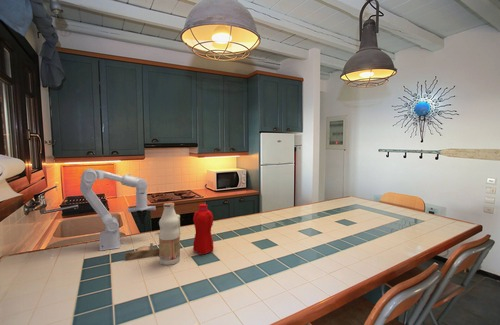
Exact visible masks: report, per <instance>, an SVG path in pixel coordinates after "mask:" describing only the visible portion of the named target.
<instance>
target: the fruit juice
mask: <svg viewBox="0 0 500 325" xmlns="http://www.w3.org/2000/svg"><path fill="white" fill-rule="evenodd" d="M176 214H177V213H176V210H175V203H174V202H164V203H163V211H162V215H161V217H160V219H159V221H158V225H159V232H158V239H159V240H158V242H159V243H158V246H159V247H158V248H159V256H158V257H159V264H161V265H164V266H171V265H174V264H177V263H179V262H180V259H181V242H180V241H181V238H180V237H181V230H180V231H179V228H178V226H179V218H178V217H177V215H176Z"/></svg>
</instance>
